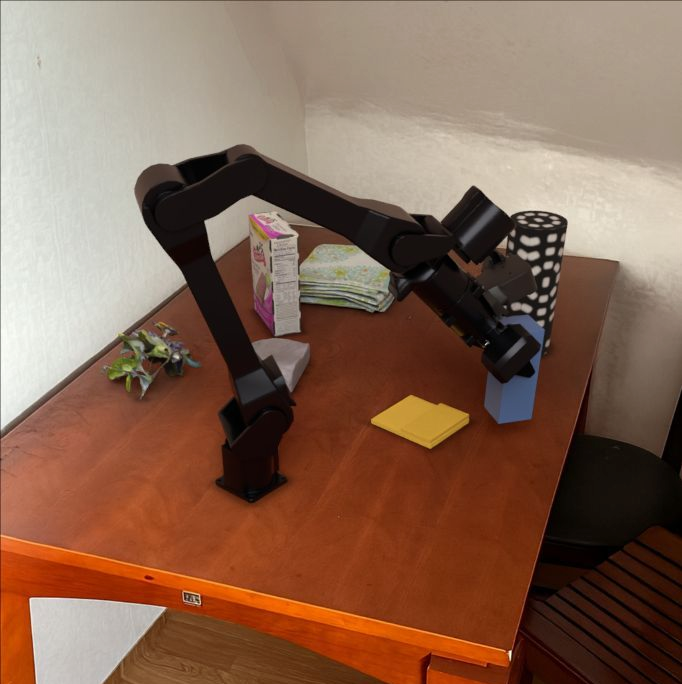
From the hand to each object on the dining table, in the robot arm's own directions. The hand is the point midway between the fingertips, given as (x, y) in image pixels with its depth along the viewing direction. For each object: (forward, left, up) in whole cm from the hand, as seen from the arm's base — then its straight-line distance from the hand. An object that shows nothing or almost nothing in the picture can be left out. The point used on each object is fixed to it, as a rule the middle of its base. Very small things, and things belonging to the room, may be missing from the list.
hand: (523, 365), depth 118 cm
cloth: (-4, +12, -11) cm, 17 cm away
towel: (+25, +49, -11) cm, 57 cm away
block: (-1, +1, -7) cm, 7 cm away
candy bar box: (+6, +49, -11) cm, 51 cm away
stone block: (-8, +37, -11) cm, 40 cm away
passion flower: (-22, +47, -11) cm, 53 cm away
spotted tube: (+25, +14, -11) cm, 31 cm away
